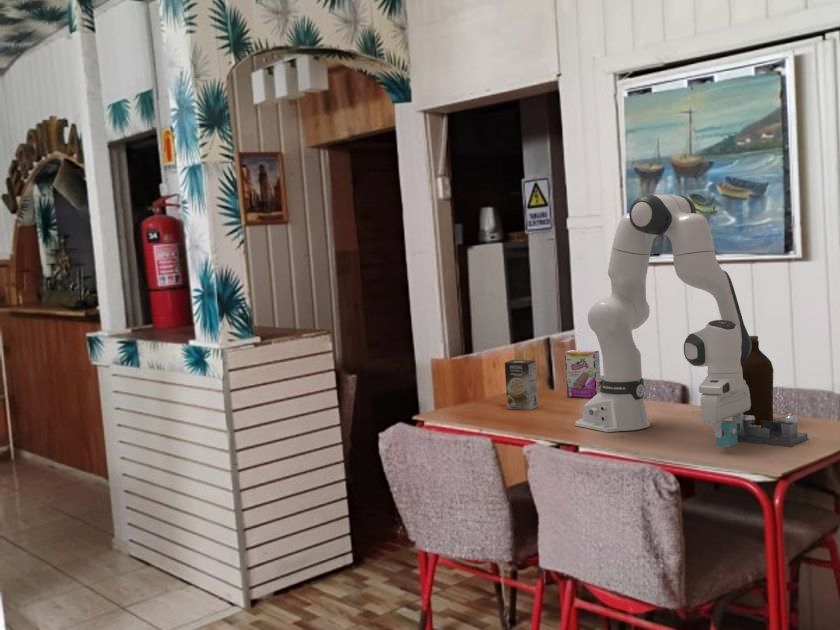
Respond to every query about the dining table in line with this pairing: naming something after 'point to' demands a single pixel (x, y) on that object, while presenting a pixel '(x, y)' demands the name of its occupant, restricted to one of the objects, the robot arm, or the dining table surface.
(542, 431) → the dining table surface
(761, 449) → the dining table surface
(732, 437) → the coupler
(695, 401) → the dining table surface
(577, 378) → the candy bar box
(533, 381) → the coffee box
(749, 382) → the olive oil
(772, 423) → the shaft rig
